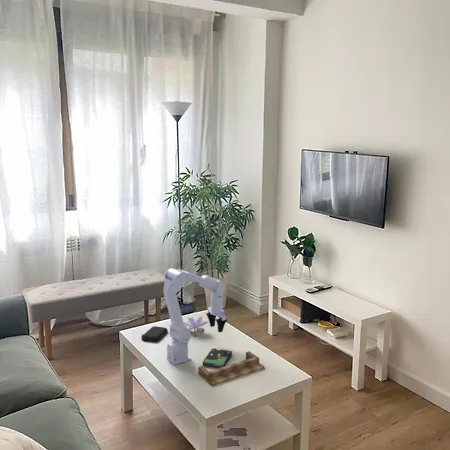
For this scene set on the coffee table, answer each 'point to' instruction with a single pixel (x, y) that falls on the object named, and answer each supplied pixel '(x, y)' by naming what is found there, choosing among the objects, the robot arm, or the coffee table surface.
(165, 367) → the coffee table surface
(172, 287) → the robot arm
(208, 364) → the disk drive
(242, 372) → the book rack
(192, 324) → the water lily
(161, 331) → the carrying case or bag
